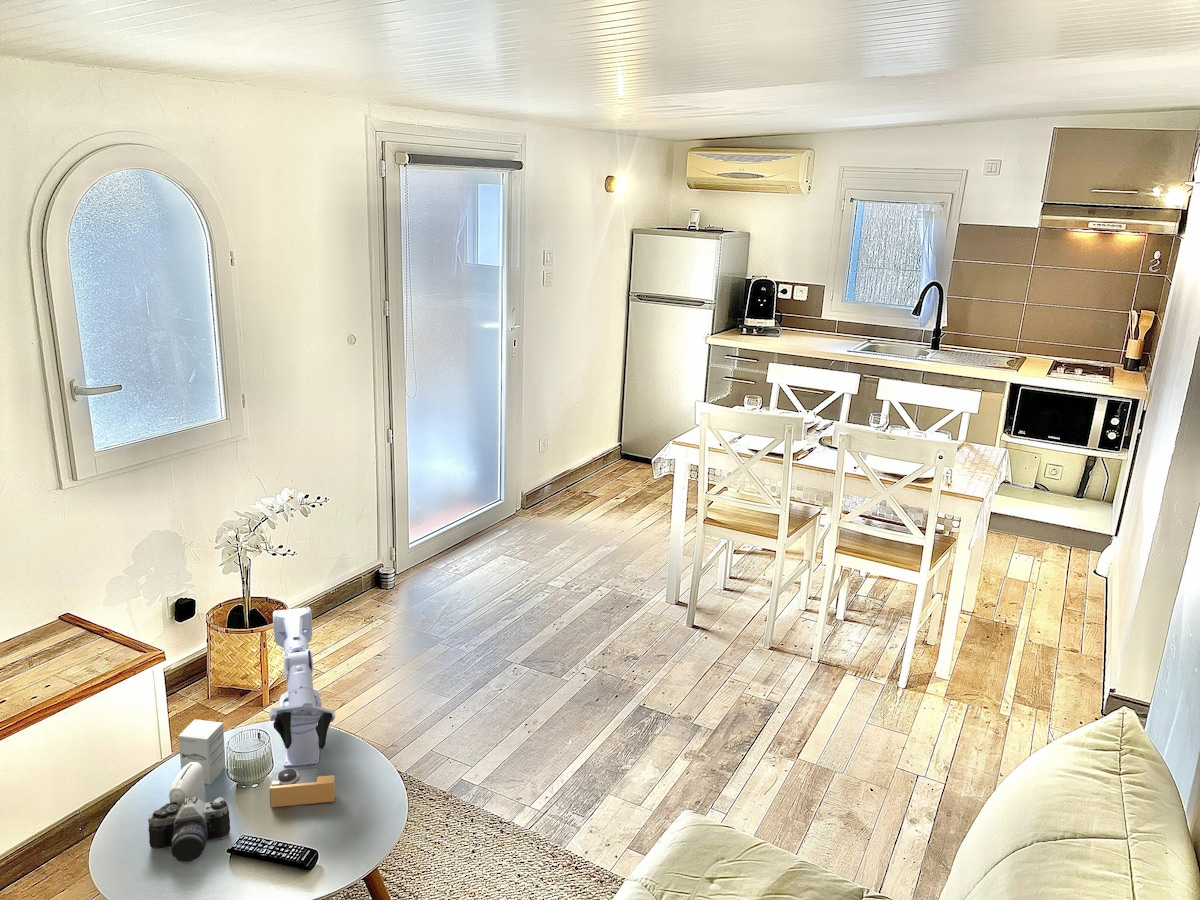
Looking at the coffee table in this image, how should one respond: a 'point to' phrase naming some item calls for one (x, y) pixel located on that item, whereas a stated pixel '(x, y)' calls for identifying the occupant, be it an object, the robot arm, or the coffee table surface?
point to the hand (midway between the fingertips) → (305, 746)
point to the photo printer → (188, 784)
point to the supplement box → (203, 747)
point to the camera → (188, 826)
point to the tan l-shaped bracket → (304, 792)
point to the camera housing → (293, 777)
